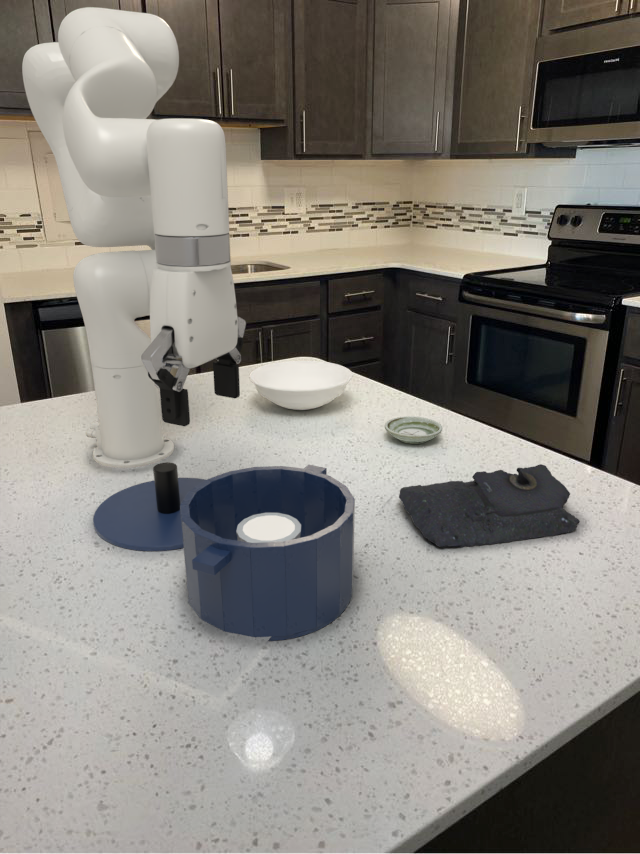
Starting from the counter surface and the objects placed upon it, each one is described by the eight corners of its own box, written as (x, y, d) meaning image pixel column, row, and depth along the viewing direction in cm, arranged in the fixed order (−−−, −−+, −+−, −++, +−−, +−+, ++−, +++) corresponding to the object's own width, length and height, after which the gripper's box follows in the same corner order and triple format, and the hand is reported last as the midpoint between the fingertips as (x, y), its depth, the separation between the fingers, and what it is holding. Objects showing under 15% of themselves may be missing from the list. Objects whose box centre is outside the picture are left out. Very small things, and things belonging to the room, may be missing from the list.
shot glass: (294, 606, 68) (292, 547, 66) (230, 598, 70) (227, 540, 67) (308, 569, 75) (307, 514, 72) (250, 562, 76) (247, 508, 74)
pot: (135, 625, 66) (124, 534, 63) (256, 522, 86) (253, 447, 82) (292, 681, 59) (290, 581, 55) (385, 555, 78) (388, 474, 75)
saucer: (448, 434, 114) (449, 420, 114) (430, 453, 106) (431, 439, 106) (396, 424, 119) (397, 412, 118) (375, 443, 111) (375, 429, 110)
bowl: (305, 383, 142) (305, 354, 140) (373, 406, 128) (374, 374, 126) (229, 404, 129) (228, 373, 127) (295, 431, 116) (295, 397, 113)
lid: (61, 533, 83) (52, 482, 81) (158, 475, 99) (154, 430, 97) (184, 570, 75) (179, 514, 73) (268, 501, 91) (267, 453, 89)
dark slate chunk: (386, 497, 92) (387, 465, 91) (527, 479, 97) (530, 449, 96) (430, 554, 78) (432, 518, 77) (592, 530, 84) (597, 496, 82)
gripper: (211, 241, 76) (218, 382, 83) (105, 260, 62) (124, 429, 68) (267, 245, 73) (270, 391, 80) (170, 266, 59) (183, 442, 65)
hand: (203, 409), depth 74 cm, fingers open, 9 cm apart
